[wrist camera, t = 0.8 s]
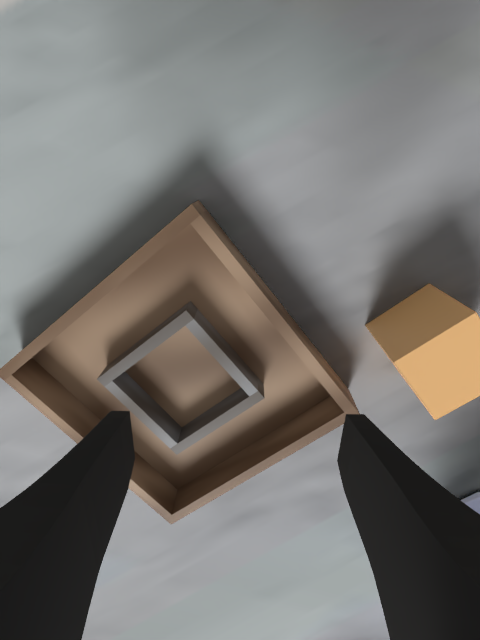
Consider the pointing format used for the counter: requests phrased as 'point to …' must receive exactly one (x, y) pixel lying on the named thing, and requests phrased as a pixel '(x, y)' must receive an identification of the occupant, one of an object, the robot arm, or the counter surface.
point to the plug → (433, 348)
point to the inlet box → (185, 368)
